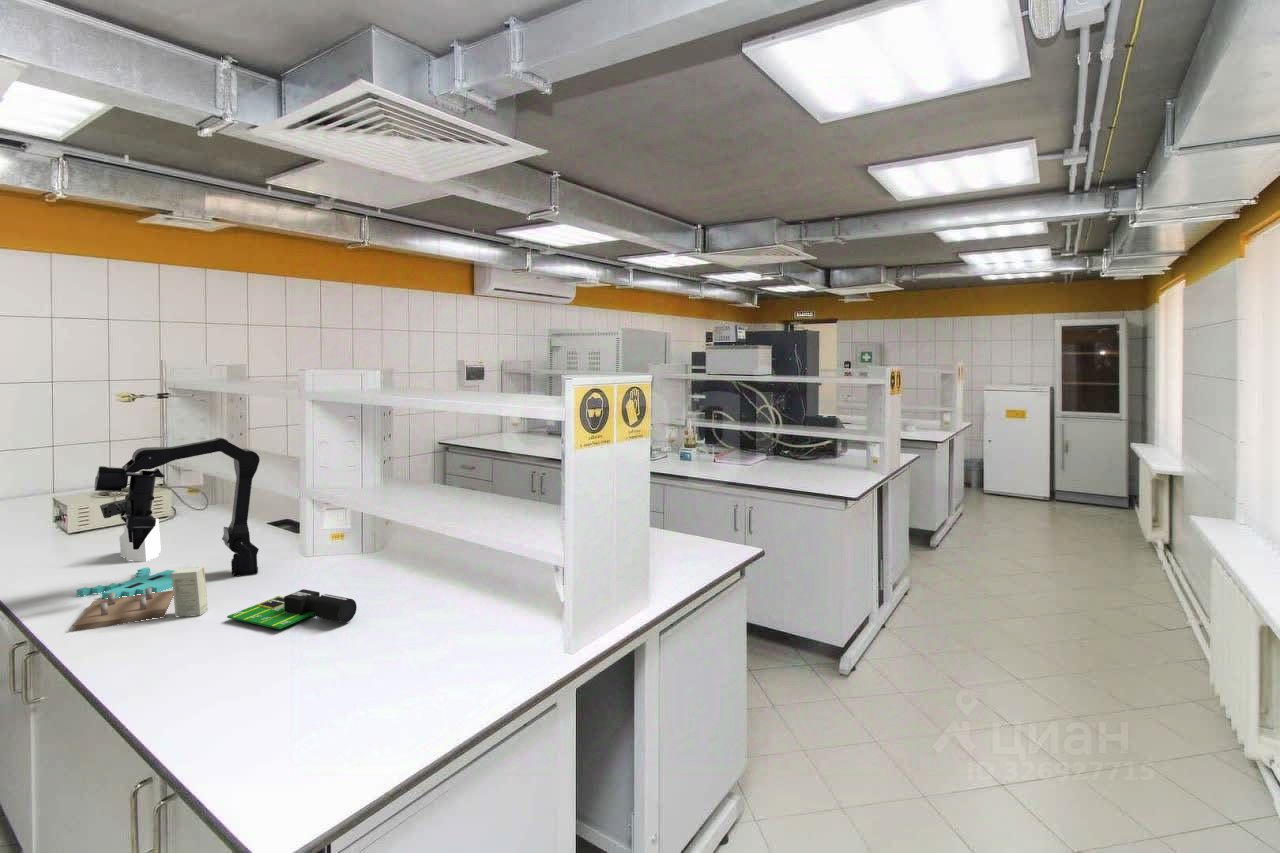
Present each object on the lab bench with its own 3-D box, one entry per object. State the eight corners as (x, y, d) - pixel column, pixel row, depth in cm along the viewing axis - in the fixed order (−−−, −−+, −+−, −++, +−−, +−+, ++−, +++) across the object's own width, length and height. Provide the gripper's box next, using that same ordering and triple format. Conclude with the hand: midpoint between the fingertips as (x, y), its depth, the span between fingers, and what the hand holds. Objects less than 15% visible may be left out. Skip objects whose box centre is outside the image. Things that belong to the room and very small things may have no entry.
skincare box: (208, 609, 172) (206, 566, 171) (200, 616, 168) (197, 571, 166) (182, 611, 171) (179, 567, 170) (173, 617, 167) (170, 572, 165)
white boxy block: (146, 561, 211) (143, 526, 210) (112, 561, 211) (110, 526, 210) (170, 552, 222) (168, 518, 220) (138, 551, 222) (135, 518, 220)
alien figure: (77, 597, 181) (134, 603, 177) (76, 589, 180) (134, 596, 176) (144, 574, 200) (197, 579, 196) (144, 567, 200) (197, 572, 196)
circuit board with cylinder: (225, 596, 164) (277, 578, 178) (227, 622, 164) (278, 601, 178) (312, 614, 153) (359, 593, 167) (313, 641, 154) (360, 618, 168)
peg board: (174, 595, 182) (173, 580, 181) (163, 617, 166) (162, 601, 166) (93, 606, 173) (92, 590, 173) (74, 631, 158) (73, 613, 157)
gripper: (101, 485, 182) (93, 539, 182) (108, 496, 169) (99, 554, 168) (149, 487, 190) (142, 538, 190) (159, 497, 176) (151, 552, 176)
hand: (133, 545), depth 181 cm, fingers open, 9 cm apart
